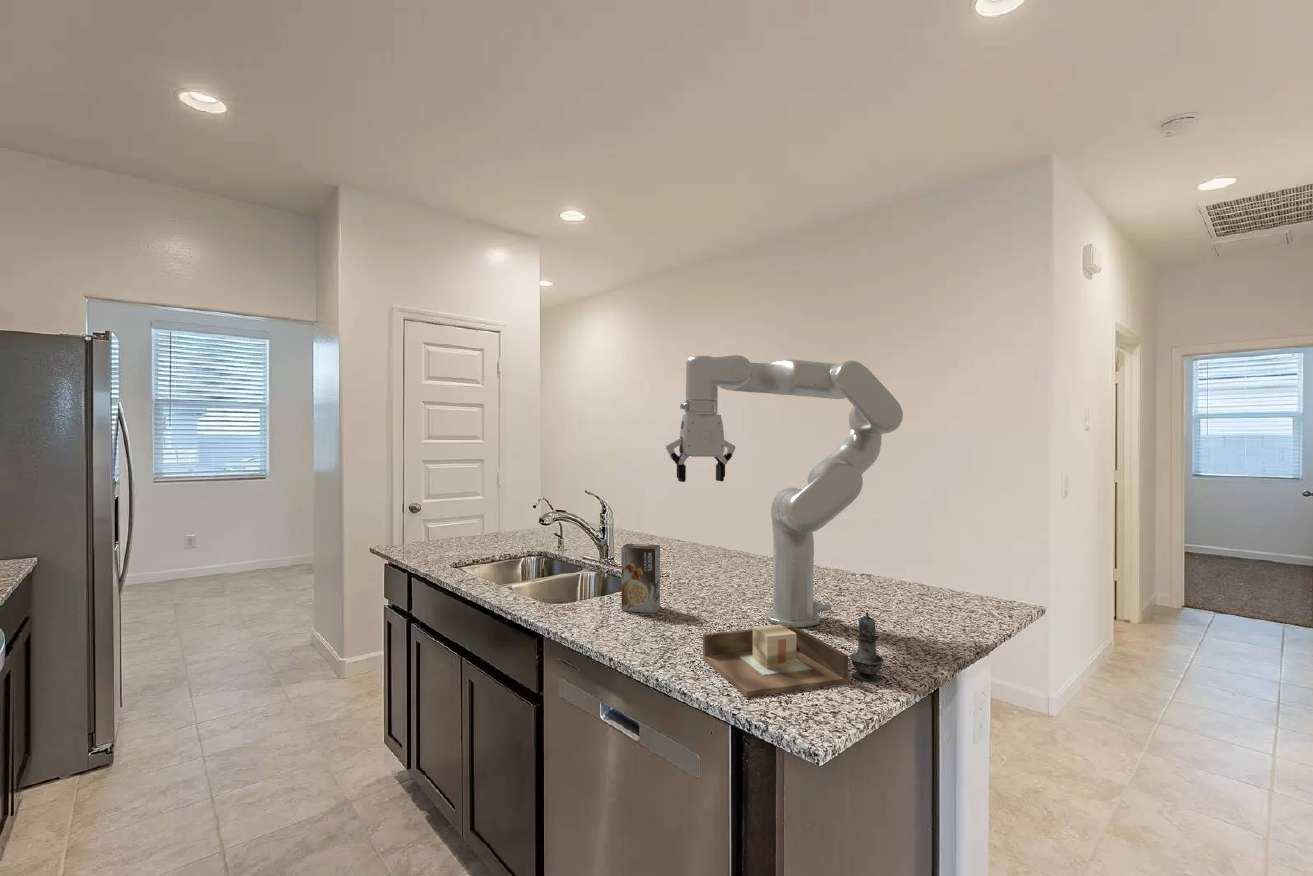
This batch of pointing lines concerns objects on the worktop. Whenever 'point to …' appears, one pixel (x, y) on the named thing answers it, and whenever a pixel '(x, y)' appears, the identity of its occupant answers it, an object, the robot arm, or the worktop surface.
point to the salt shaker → (866, 653)
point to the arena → (752, 679)
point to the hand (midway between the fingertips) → (701, 481)
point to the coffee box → (640, 578)
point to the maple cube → (774, 646)
